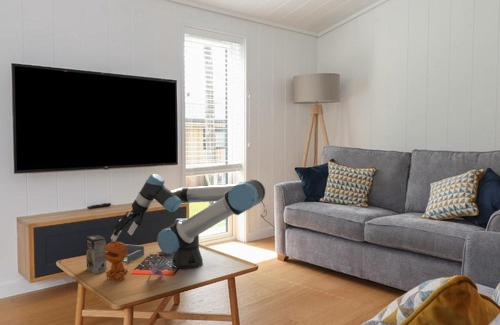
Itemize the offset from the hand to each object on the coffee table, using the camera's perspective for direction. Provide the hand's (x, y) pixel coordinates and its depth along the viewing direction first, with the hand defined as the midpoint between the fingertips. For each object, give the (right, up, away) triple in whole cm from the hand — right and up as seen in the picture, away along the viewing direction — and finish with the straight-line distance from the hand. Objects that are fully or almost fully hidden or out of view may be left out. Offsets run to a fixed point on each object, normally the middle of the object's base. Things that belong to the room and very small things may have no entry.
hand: (121, 236), depth 214 cm
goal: (-4, -14, +18) cm, 23 cm away
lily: (+21, -17, -18) cm, 32 cm away
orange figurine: (+2, -17, -16) cm, 23 cm away
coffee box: (-11, -16, -3) cm, 19 cm away
